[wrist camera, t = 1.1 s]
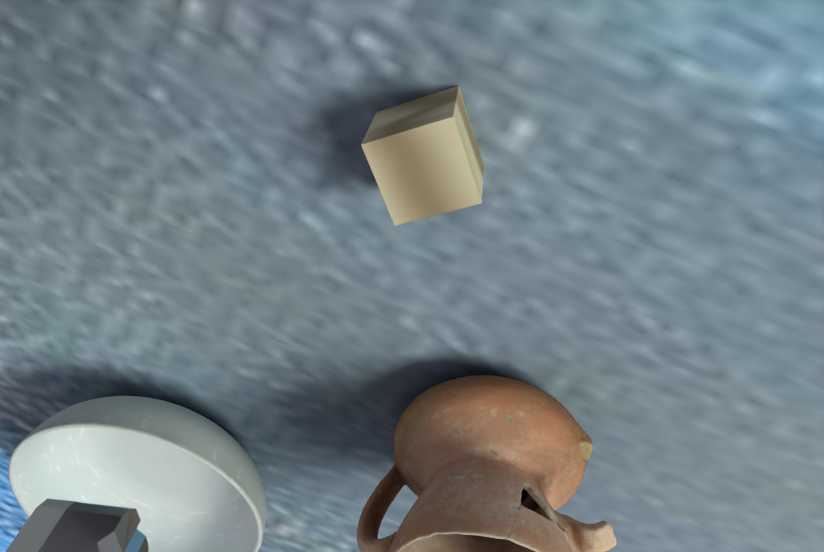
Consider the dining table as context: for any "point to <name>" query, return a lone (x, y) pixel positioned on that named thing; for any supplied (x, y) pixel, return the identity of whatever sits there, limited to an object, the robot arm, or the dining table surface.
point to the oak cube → (425, 157)
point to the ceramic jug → (485, 473)
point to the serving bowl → (147, 472)
